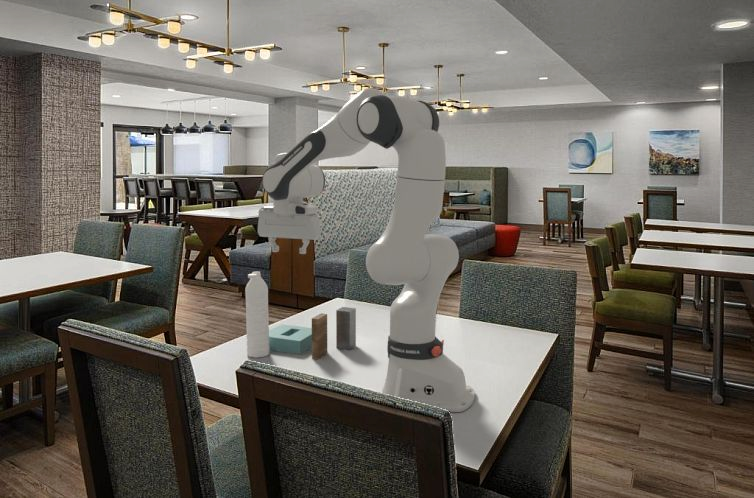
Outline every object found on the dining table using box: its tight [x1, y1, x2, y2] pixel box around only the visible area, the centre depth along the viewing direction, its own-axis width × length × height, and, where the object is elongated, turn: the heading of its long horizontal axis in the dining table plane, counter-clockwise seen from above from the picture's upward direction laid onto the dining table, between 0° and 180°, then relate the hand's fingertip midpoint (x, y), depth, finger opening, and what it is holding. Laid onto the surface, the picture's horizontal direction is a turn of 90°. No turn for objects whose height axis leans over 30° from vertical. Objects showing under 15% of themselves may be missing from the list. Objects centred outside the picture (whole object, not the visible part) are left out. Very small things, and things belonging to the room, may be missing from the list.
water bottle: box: [244, 270, 271, 359], centre depth 156 cm, size 9×6×25 cm
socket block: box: [269, 323, 312, 355], centre depth 168 cm, size 14×13×4 cm
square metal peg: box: [335, 306, 357, 351], centre depth 166 cm, size 4×4×12 cm
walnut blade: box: [311, 312, 328, 360], centre depth 158 cm, size 2×6×12 cm, turn 159°
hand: (289, 252), depth 164 cm, fingers open, 8 cm apart
